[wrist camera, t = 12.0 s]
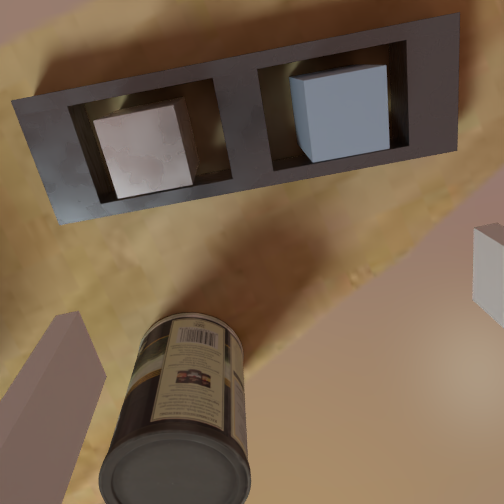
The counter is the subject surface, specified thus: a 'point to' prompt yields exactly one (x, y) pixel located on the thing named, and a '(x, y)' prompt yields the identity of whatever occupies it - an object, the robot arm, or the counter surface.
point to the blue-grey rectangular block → (341, 111)
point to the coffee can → (182, 419)
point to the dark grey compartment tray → (249, 120)
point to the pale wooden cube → (149, 147)
